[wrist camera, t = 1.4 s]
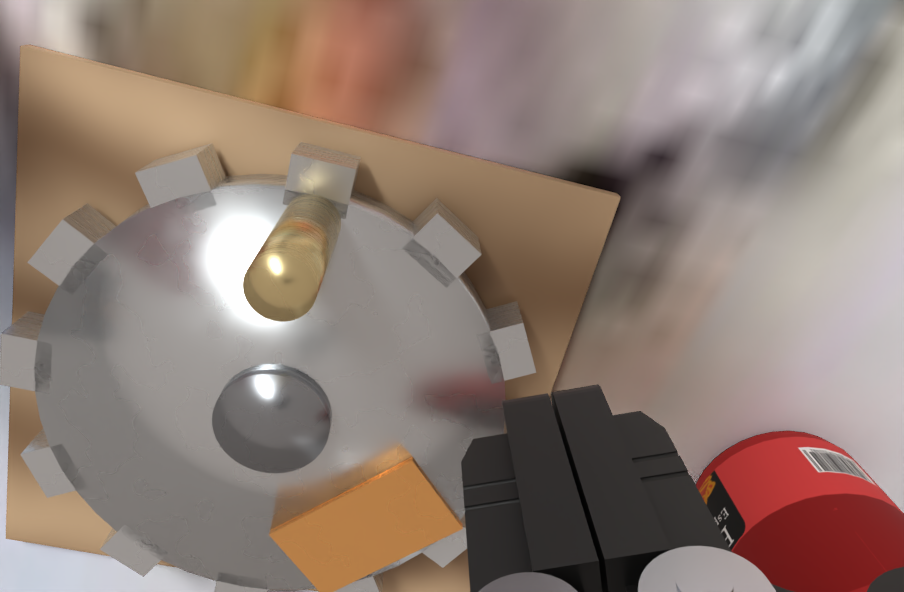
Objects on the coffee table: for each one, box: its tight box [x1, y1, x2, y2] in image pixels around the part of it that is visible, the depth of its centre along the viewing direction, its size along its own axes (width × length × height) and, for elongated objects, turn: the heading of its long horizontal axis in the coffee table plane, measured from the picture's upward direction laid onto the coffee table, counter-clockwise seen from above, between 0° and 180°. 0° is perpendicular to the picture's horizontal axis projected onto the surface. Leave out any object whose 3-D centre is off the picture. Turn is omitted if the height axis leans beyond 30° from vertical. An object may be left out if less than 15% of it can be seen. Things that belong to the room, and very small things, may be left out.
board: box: [6, 45, 621, 592], centre depth 31 cm, size 22×22×1 cm
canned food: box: [696, 431, 904, 592], centre depth 29 cm, size 8×8×11 cm
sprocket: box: [0, 142, 536, 592], centre depth 26 cm, size 20×20×8 cm
